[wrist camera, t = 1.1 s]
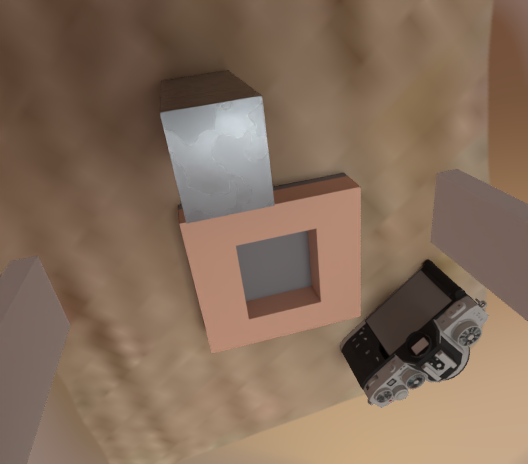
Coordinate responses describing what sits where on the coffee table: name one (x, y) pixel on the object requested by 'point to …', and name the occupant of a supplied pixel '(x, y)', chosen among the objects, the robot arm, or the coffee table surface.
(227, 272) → the pink square frame
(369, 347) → the camera
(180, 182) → the grey wood-topped pillar
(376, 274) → the coffee table surface
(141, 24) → the coffee table surface
